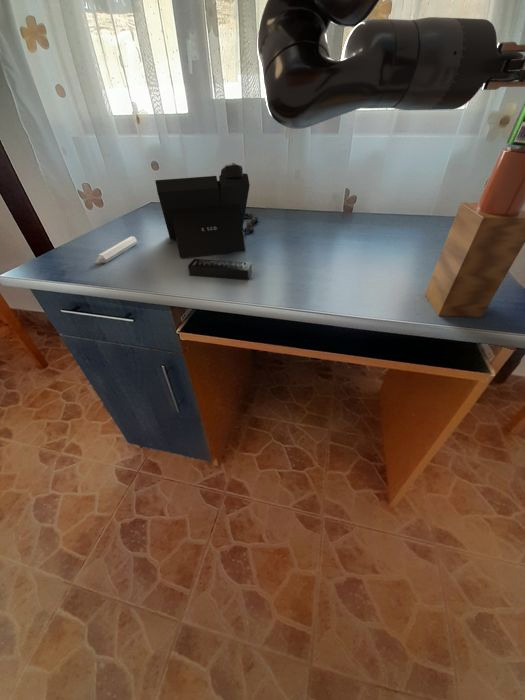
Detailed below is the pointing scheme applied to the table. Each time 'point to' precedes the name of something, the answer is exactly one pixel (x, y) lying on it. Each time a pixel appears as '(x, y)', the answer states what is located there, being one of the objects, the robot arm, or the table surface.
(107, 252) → the white pencil
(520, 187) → the cup
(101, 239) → the table surface
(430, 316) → the table surface
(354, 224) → the table surface
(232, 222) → the office phone
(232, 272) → the multiport hub
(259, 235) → the table surface
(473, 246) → the stand
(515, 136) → the beer can
